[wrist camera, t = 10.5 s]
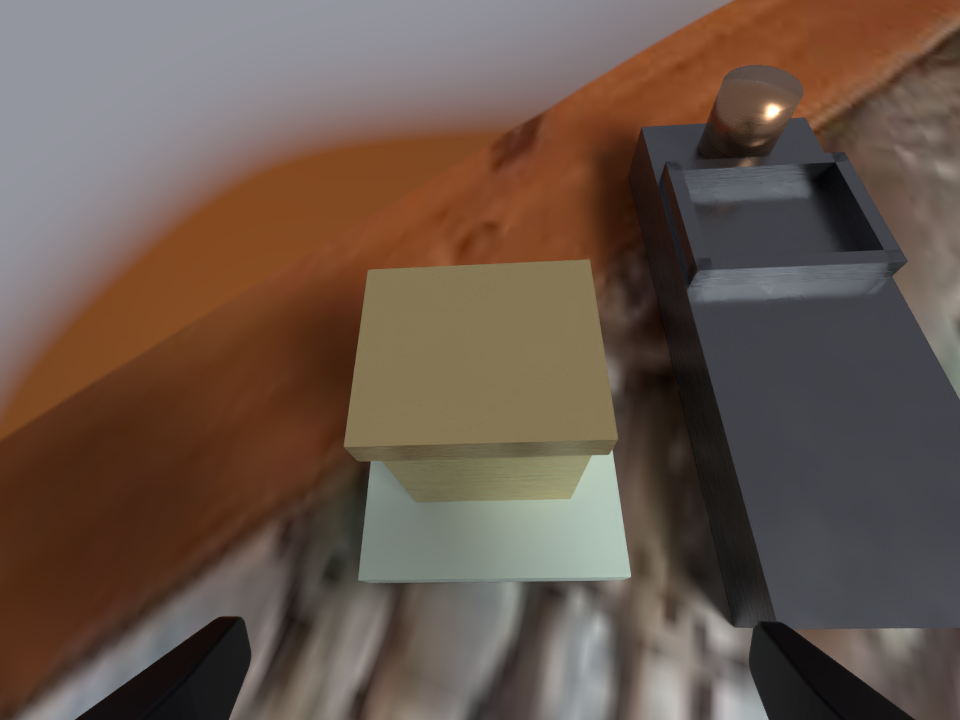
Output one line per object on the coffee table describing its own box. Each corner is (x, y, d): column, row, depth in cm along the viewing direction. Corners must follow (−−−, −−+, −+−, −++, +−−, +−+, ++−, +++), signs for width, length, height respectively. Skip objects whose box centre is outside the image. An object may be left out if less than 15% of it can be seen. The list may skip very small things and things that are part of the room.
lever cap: (572, 516, 16) (618, 439, 9) (414, 519, 16) (344, 446, 10) (560, 395, 18) (589, 259, 11) (421, 400, 19) (368, 269, 12)
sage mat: (621, 580, 17) (631, 577, 15) (370, 583, 17) (357, 580, 16) (590, 357, 21) (596, 340, 20) (391, 364, 21) (383, 347, 20)
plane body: (985, 625, 15) (1233, 629, 10) (734, 627, 16) (846, 631, 10) (775, 168, 26) (842, 54, 21) (628, 176, 26) (657, 65, 21)
